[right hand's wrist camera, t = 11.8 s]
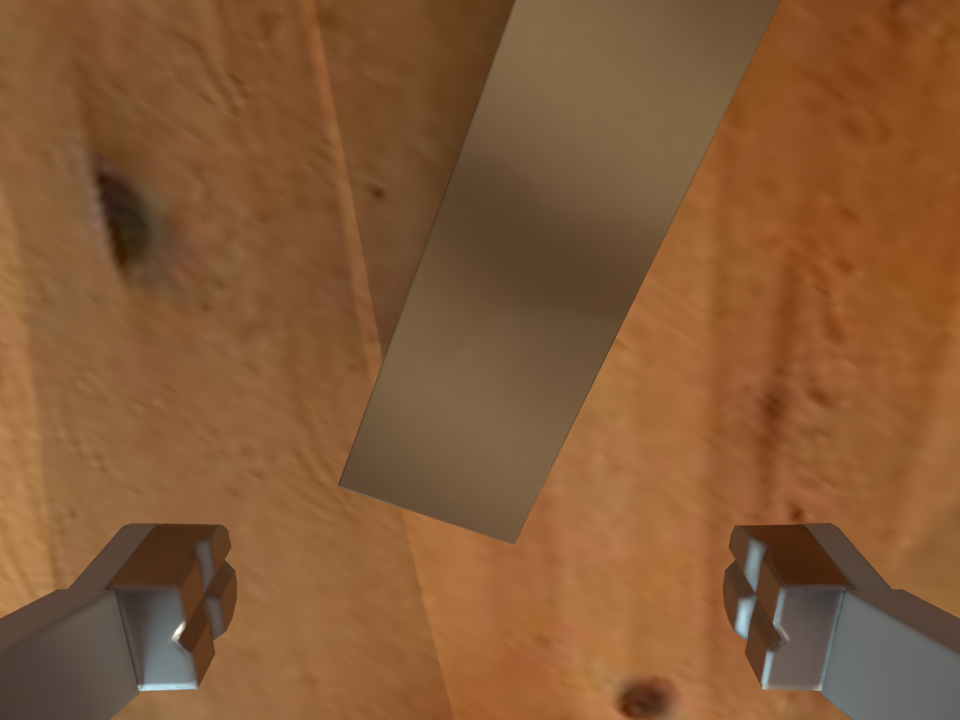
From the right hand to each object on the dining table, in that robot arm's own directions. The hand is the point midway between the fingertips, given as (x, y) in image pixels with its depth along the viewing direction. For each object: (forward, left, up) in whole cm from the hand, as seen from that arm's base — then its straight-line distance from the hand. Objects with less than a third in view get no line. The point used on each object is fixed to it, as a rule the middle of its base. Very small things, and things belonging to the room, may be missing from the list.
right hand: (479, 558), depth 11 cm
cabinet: (+4, +2, -17) cm, 18 cm away
